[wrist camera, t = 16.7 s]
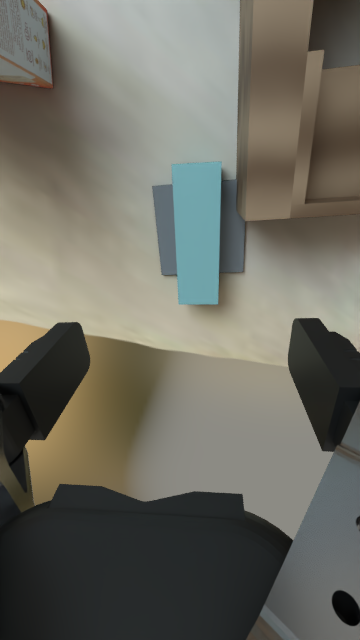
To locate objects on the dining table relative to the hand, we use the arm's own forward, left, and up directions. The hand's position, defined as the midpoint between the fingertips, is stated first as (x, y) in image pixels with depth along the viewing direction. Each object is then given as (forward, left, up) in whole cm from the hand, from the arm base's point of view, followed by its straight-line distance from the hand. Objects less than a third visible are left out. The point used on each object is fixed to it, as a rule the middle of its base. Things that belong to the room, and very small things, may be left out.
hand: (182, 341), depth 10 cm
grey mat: (0, 0, -24) cm, 24 cm away
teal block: (0, 0, -23) cm, 23 cm away
